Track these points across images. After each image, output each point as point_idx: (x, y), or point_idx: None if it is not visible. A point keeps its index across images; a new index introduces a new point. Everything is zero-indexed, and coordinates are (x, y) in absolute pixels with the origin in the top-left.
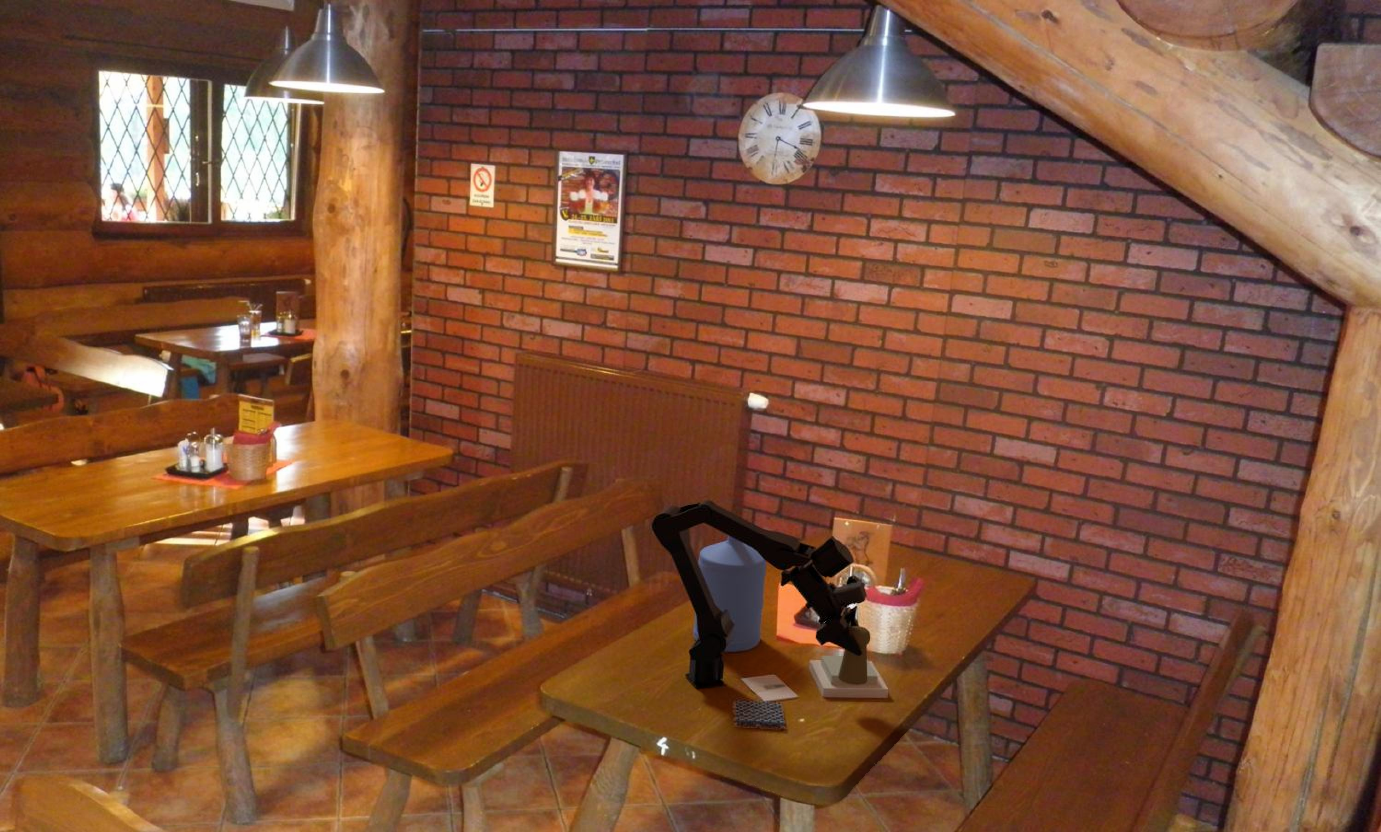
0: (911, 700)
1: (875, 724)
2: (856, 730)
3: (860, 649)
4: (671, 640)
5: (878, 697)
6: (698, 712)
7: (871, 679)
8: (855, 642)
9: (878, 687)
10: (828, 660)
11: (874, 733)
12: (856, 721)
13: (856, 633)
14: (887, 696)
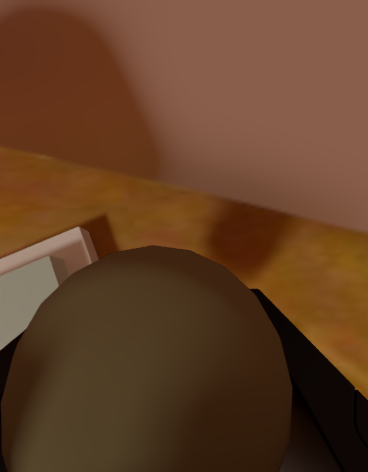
0: (82, 179)
1: (238, 237)
2: (289, 273)
3: (270, 306)
4: None
5: (95, 251)
6: None
7: (59, 272)
8: (335, 368)
9: (77, 251)
10: None
11: (283, 232)
12: (244, 281)
13: (273, 408)
14: (87, 231)
